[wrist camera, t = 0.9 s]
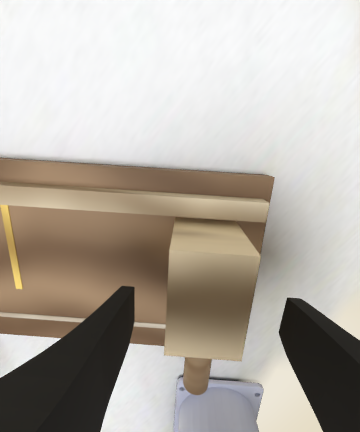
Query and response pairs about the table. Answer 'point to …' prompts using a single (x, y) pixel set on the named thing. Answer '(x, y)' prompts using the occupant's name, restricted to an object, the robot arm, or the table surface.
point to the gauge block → (208, 295)
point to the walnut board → (105, 237)
